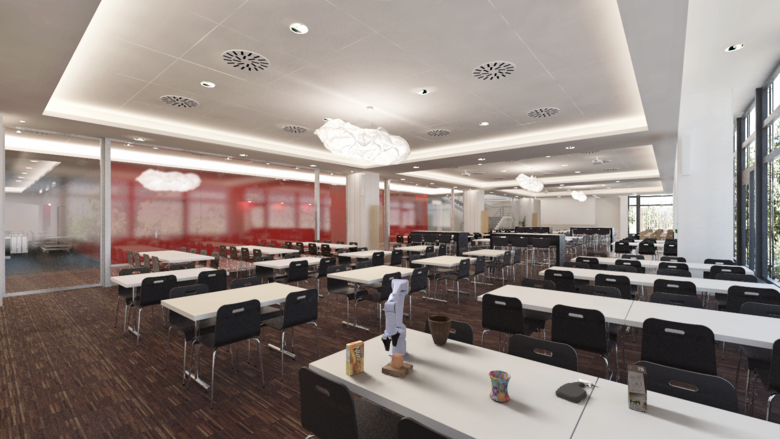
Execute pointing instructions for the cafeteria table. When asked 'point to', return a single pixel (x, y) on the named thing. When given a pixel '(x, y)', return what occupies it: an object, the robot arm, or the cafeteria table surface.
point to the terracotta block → (397, 360)
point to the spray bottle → (573, 391)
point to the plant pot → (439, 328)
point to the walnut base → (395, 371)
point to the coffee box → (637, 387)
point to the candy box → (354, 357)
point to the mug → (499, 385)
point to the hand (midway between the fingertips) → (391, 348)
